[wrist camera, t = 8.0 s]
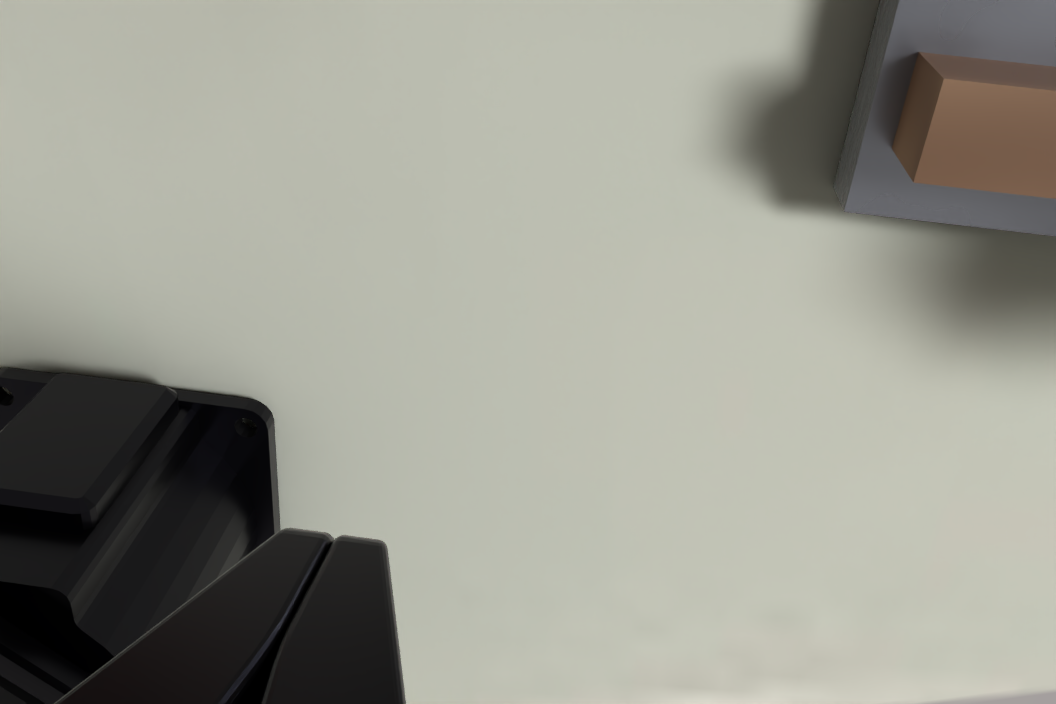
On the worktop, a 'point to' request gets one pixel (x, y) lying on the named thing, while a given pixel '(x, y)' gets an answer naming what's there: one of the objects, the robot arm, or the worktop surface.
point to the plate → (898, 35)
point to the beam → (980, 125)
